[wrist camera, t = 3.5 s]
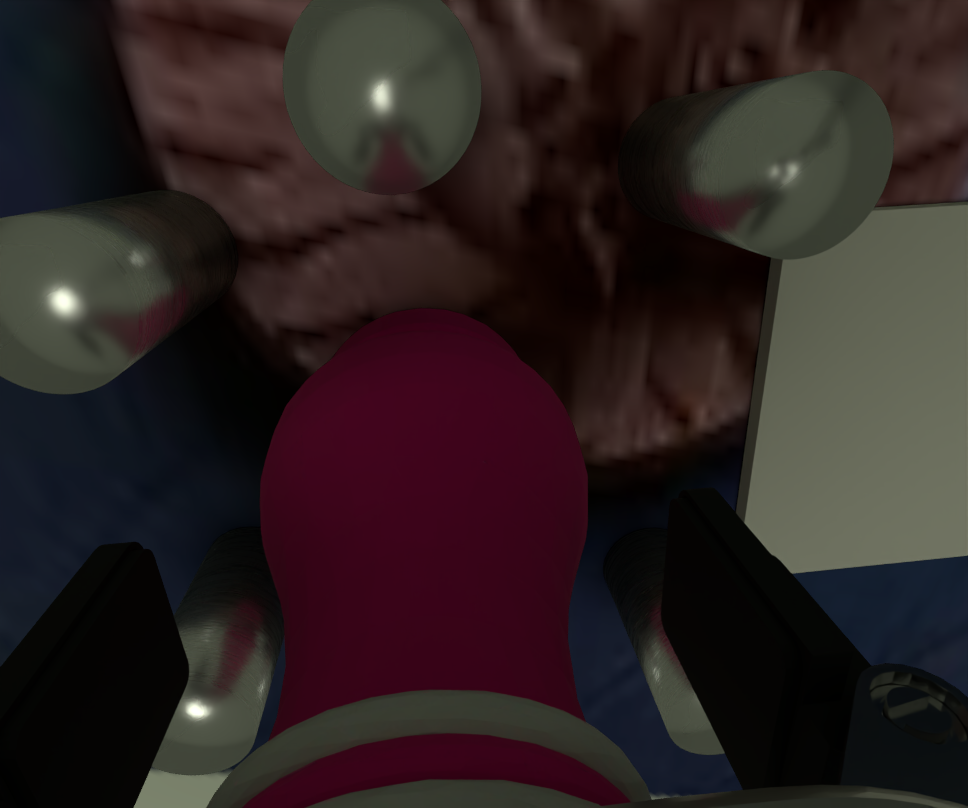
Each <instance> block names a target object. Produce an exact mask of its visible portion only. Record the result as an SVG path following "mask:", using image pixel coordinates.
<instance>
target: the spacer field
mask: <svg viewBox="0 0 968 808" xmlns="http://www.w3.org/2000/svg"><path fill="white" fill-rule="evenodd" d="M283 89H284V97H285V102H286V106H287V111H288V114H289V117H290V119H291V122H292V125H293V127H294V129H295V131H296V133H297V135H298V137H299V139H300V141H301V142H302V144H303V145H304V147H305V148H306V150H307V151H308V152H309V154H310V155H311V156H312V157H313V159H314V160H315V161H316V162H317V163H318V164H319V165H320V166H321V167H322V168H323V169H324V170H326V171H327V172H328V173H330V174H331V175H332V176H333V177H335V178H336V179H338V180H340V181H341V182H343V183H345V184H347V185H349V186H351V187H354V188H356V189H358V190H362V191H365V192H369V193H375V194H382V195H396V194H404V193H409V192H413V191H416V190H419V189H422V188H424V187H426V186H429V185H430V184H432V183H434V182H435V181H437V180H439V179H440V178H441V177H443V176H444V175H445V174H446V173H447V172H449V171H450V170H451V169H452V168H453V166H454V165H455V164H456V163H457V162H458V161H459V159H460V158H461V157H462V155H463V154H464V153H465V151H466V149H467V147H468V145H469V143H470V142H471V140H472V137H473V134H474V132H475V129H476V126H477V122H478V118H479V114H480V106H481V78H480V71H479V66H478V62H477V57H476V55H475V52H474V49H473V46H472V43H471V41H470V39H469V37H468V35H467V33H466V31H465V29H464V28H463V26H462V25H461V23H460V22H459V20H458V19H457V17H456V16H455V15H454V14H453V13H452V11H451V10H450V9H449V8H448V7H447V6H446V5H445V4H444V3H443V2H442V1H441V0H312V1H311V2H310V3H309V5H308V6H307V7H306V8H305V10H304V11H303V12H302V13H301V15H300V17H299V18H298V20H297V22H296V24H295V25H294V28H293V30H292V32H291V35H290V37H289V40H288V44H287V47H286V51H285V57H284V64H283ZM893 148H894V139H893V129H892V125H891V120H890V117H889V114H888V112H887V109H886V107H885V105H884V103H883V102H882V100H881V98H880V97H879V96H878V94H877V93H876V92H875V91H874V90H873V89H872V88H871V87H870V86H869V85H868V84H867V83H865V82H864V81H862V80H860V79H859V78H857V77H855V76H853V75H850V74H847V73H844V72H839V71H828V70H822V71H814V72H807V73H802V74H796V75H791V76H785V77H780V78H775V79H769V80H764V81H758V82H753V83H747V84H742V85H736V86H731V87H725V88H720V89H715V90H709V91H704V92H698V93H693V94H687V95H682V96H676V97H671V98H667V99H664V100H661V101H659V102H657V103H655V104H653V105H652V106H650V107H649V108H647V109H646V110H645V111H643V112H642V113H641V114H640V115H639V116H638V117H637V118H636V120H635V121H634V122H633V123H632V125H631V126H630V128H629V129H628V131H627V133H626V135H625V137H624V139H623V142H622V145H621V148H620V153H619V160H618V174H619V180H620V184H621V187H622V190H623V192H624V194H625V196H626V198H627V199H628V201H629V202H630V203H631V204H632V206H633V207H635V208H636V209H637V210H638V211H639V212H641V213H642V214H644V215H646V216H648V217H650V218H653V219H656V220H659V221H662V222H665V223H668V224H671V225H674V226H677V227H680V228H683V229H686V230H689V231H692V232H695V233H698V234H701V235H705V236H708V237H711V238H714V239H717V240H720V241H723V242H726V243H729V244H732V245H735V246H738V247H741V248H744V249H747V250H750V251H753V252H756V253H759V254H762V255H765V256H768V257H772V258H776V259H783V260H794V259H802V258H807V257H810V256H814V255H817V254H819V253H822V252H824V251H827V250H828V249H830V248H832V247H834V246H836V245H837V244H839V243H840V242H842V241H843V240H845V239H846V238H847V237H848V236H849V235H851V234H852V233H853V232H854V231H855V230H856V229H857V228H858V227H859V226H860V225H861V224H862V223H863V222H864V221H865V219H866V218H867V217H868V215H869V214H870V213H871V212H872V210H873V208H874V207H875V205H876V204H877V202H878V200H879V198H880V196H881V194H882V192H883V190H884V188H885V185H886V183H887V180H888V177H889V173H890V169H891V166H892V159H893ZM237 264H238V255H237V248H236V244H235V241H234V238H233V236H232V233H231V231H230V230H229V228H228V226H227V224H226V223H225V222H224V220H223V219H222V218H221V217H220V215H219V214H218V213H217V212H216V211H215V210H214V209H212V208H211V207H210V206H209V205H208V204H206V203H205V202H203V201H202V200H200V199H198V198H196V197H194V196H192V195H189V194H187V193H183V192H179V191H173V190H158V191H151V192H145V193H140V194H134V195H128V196H123V197H117V198H112V199H106V200H100V201H95V202H89V203H84V204H78V205H72V206H67V207H61V208H56V209H50V210H44V211H39V212H33V213H28V214H22V215H16V216H11V217H5V218H0V376H1V377H3V378H5V379H7V380H9V381H11V382H13V383H15V384H18V385H20V386H22V387H25V388H29V389H32V390H35V391H40V392H45V393H53V394H74V393H82V392H86V391H90V390H93V389H96V388H98V387H100V386H103V385H104V384H106V383H108V382H109V381H111V380H113V379H114V378H115V377H116V376H118V375H119V374H120V373H122V372H123V371H124V370H126V369H127V368H128V367H130V366H131V365H132V364H134V363H135V362H136V361H138V360H139V359H140V358H141V357H143V356H144V355H145V354H147V353H148V352H149V351H151V350H152V349H153V348H155V347H156V346H157V345H159V344H160V343H161V342H163V341H164V340H165V339H167V338H168V337H169V336H170V335H172V334H173V333H174V332H176V331H177V330H178V329H180V328H181V327H182V326H184V325H185V324H186V323H188V322H189V321H190V320H192V319H193V318H194V317H196V316H197V315H198V314H199V313H201V312H202V311H203V310H205V309H206V308H207V307H209V306H210V305H211V304H213V303H214V302H215V301H217V300H218V299H219V298H220V297H222V296H223V295H224V294H225V293H226V291H227V290H228V289H229V287H230V286H231V284H232V282H233V280H234V278H235V275H236V271H237ZM666 543H667V530H663V529H656V528H650V529H642V530H639V531H635V532H633V533H631V534H629V535H627V536H625V537H623V538H622V539H620V540H619V541H618V542H617V543H616V544H615V545H614V546H613V547H612V548H611V550H610V551H609V553H608V554H607V556H606V559H605V562H604V567H603V574H604V578H605V581H606V583H607V586H608V588H609V590H610V593H611V595H612V598H613V600H614V602H615V605H616V607H617V610H618V612H619V615H620V617H621V619H622V622H623V624H624V627H625V629H626V631H627V634H628V636H629V639H630V641H631V644H632V646H633V648H634V651H635V653H636V656H637V658H638V661H639V663H640V665H641V668H642V670H643V673H644V675H645V677H646V680H647V682H648V685H649V687H650V690H651V692H652V694H653V697H654V699H655V702H656V704H657V706H658V709H659V711H660V714H661V716H662V719H663V721H664V723H665V726H666V728H667V731H668V733H669V735H670V737H671V739H672V740H673V741H674V742H675V744H677V745H678V746H679V747H681V748H682V749H684V750H686V751H689V752H692V753H696V754H703V755H714V754H722V753H725V752H724V750H723V748H722V746H721V744H720V742H719V740H718V738H717V736H716V734H715V732H714V730H713V728H712V726H711V724H710V722H709V720H708V718H707V716H706V714H705V712H704V710H703V708H702V706H701V704H700V702H699V700H698V698H697V696H696V694H695V692H694V690H693V688H692V686H691V684H690V682H689V680H688V678H687V676H686V674H685V672H684V670H683V668H682V666H681V664H680V662H679V660H678V658H677V656H676V654H675V652H674V650H673V648H672V646H671V644H670V642H669V640H668V638H667V636H666V634H665V631H664V629H663V625H662V621H661V602H662V591H663V579H664V567H665V555H666ZM174 619H175V622H176V625H177V628H178V631H179V634H180V637H181V641H182V644H183V647H184V650H185V653H186V656H187V659H188V663H189V679H188V683H187V686H186V688H185V691H184V693H183V695H182V698H181V700H180V702H179V704H178V707H177V709H176V711H175V714H174V716H173V718H172V720H171V723H170V725H169V727H168V730H167V732H166V734H165V737H164V739H163V741H162V743H161V746H160V748H159V750H158V753H157V755H156V757H155V759H154V762H153V764H152V767H154V768H156V769H159V770H162V771H165V772H169V773H174V774H181V775H204V774H210V773H215V772H219V771H222V770H224V769H227V768H229V767H231V766H233V765H235V764H236V763H238V762H239V761H241V760H242V759H243V758H244V757H245V756H246V755H247V754H248V753H249V751H250V750H251V748H252V746H253V744H254V741H255V737H256V734H257V730H258V727H259V723H260V720H261V716H262V713H263V709H264V706H265V702H266V699H267V695H268V692H269V688H270V685H271V681H272V678H273V674H274V670H275V667H276V663H277V660H278V656H279V653H280V649H281V646H282V642H283V639H284V635H285V634H284V618H283V613H282V608H281V603H280V600H279V597H278V593H277V590H276V587H275V584H274V581H273V578H272V575H271V572H270V568H269V565H268V562H267V559H266V555H265V551H264V547H263V542H262V534H261V528H255V527H246V528H239V529H235V530H232V531H229V532H227V533H225V534H223V535H222V536H220V537H219V538H218V539H217V540H216V541H214V543H213V544H212V545H211V547H210V549H209V550H208V552H207V554H206V556H205V558H204V560H203V562H202V564H201V566H200V567H199V569H198V571H197V573H196V575H195V577H194V579H193V581H192V583H191V584H190V586H189V588H188V590H187V592H186V594H185V596H184V598H183V600H182V601H181V603H180V605H179V607H178V609H177V611H176V613H175V615H174Z"/></svg>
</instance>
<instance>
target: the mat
mask: <svg viewBox="0 0 968 808" xmlns="http://www.w3.org/2000/svg"><path fill="white" fill-rule="evenodd" d="M736 514H737V515H738V516H739V517H740V518H741V520H742V521H743V522H744V523H745V524H746V525H747V527H748V528H749V529H750V530H751V531H752V532H753V534H754V535H755V536H756V537H757V538H758V539H759V541H760V542H761V543H762V544H763V545H764V546H765V548H766V549H767V550H768V551H769V552H770V553H771V555H774V556H776V557H777V558H778V559H779V560H780V561H781V562H782V563H783V564H784V565H785V566H786V568H787V569H788V570H789V571H790V572H791V573H801V572H810V571H820V570H830V569H840V568H850V567H859V566H869V565H879V564H889V563H899V562H908V561H918V560H928V559H938V558H948V557H957V556H967V555H968V202H954V203H938V204H922V205H907V206H891V207H875V208H873V210H872V212H871V213H870V214H869V215H868V217H867V218H866V219H865V221H864V222H863V223H862V224H861V225H860V226H859V227H858V228H857V229H856V230H855V231H854V232H853V233H852V234H851V235H849V236H848V237H847V238H846V239H845V240H843V241H842V242H840V243H839V244H837V245H836V246H834V247H832V248H830V249H828V250H827V251H824V252H822V253H819V254H817V255H814V256H810V257H807V258H802V259H794V260H783V259H776V258H772V257H771V262H770V270H769V277H768V284H767V291H766V299H765V306H764V313H763V320H762V327H761V335H760V342H759V349H758V356H757V364H756V371H755V378H754V385H753V392H752V400H751V407H750V414H749V421H748V429H747V436H746V443H745V450H744V457H743V465H742V472H741V479H740V486H739V494H738V501H737V508H736Z"/></svg>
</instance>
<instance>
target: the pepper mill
mask: <svg viewBox="0 0 968 808" xmlns="http://www.w3.org/2000/svg"><path fill="white" fill-rule="evenodd" d="M260 518H261V534H262V542H263V547H264V551H265V555H266V559H267V562H268V565H269V568H270V572H271V575H272V578H273V581H274V584H275V587H276V590H277V593H278V597H279V600H280V603H281V608H282V613H283V618H284V634H285V656H286V669H285V674H284V680H283V686H282V692H281V698H280V703H279V709H278V715H277V719H276V721H275V724H274V727H273V730H272V733H271V735H270V738H269V741H268V742H267V743H265V744H264V745H262V746H261V747H259V748H258V749H256V750H255V751H254V752H253V753H252V754H251V755H249V756H248V757H247V758H246V759H245V760H244V761H243V762H242V763H240V764H239V765H238V766H237V767H236V768H235V769H234V770H233V771H232V772H231V773H230V774H229V776H228V777H227V778H226V779H225V781H224V782H223V783H222V785H221V786H220V787H219V789H218V790H217V791H216V792H215V794H214V795H213V797H212V799H211V801H210V802H209V804H208V806H207V808H590V807H598V806H606V805H614V804H622V803H630V802H639V801H647V800H651V797H650V794H649V791H648V788H647V785H646V784H645V782H644V781H643V779H642V778H641V776H640V775H639V774H638V772H637V771H636V769H635V768H634V767H633V765H632V764H631V762H630V761H629V760H628V758H627V757H626V755H625V754H624V753H623V751H622V750H621V749H620V748H619V747H618V746H617V745H615V744H614V743H613V742H612V741H611V740H609V739H608V738H607V737H606V736H605V735H603V734H602V733H601V732H600V731H599V730H597V729H596V728H594V727H593V726H591V725H589V724H588V723H586V721H585V718H584V716H583V713H582V710H581V708H580V705H579V702H578V700H577V694H576V688H575V682H574V675H573V669H572V663H571V657H570V651H569V645H568V613H569V605H570V600H571V594H572V589H573V584H574V580H575V577H576V573H577V569H578V566H579V562H580V558H581V555H582V551H583V547H584V544H585V540H586V533H587V525H588V475H587V471H586V467H585V463H584V460H583V456H582V452H581V448H580V445H579V442H578V438H577V435H576V432H575V429H574V426H573V424H572V422H571V419H570V417H569V415H568V413H567V411H566V409H565V406H564V405H563V403H562V402H561V401H560V399H559V398H558V396H557V395H556V393H555V392H554V391H553V389H552V388H551V386H550V385H549V384H548V383H547V382H546V381H545V380H544V379H543V378H542V377H541V376H540V375H539V374H538V373H537V372H536V371H535V370H534V369H532V368H531V367H530V366H528V365H527V364H525V363H524V362H523V361H521V360H520V359H519V357H518V356H517V354H516V352H515V351H514V350H513V349H512V348H511V347H510V345H509V344H508V343H507V342H506V341H505V340H504V339H503V338H502V337H501V336H500V335H499V334H497V333H496V332H495V331H493V330H492V329H491V328H489V327H488V326H487V325H485V324H483V323H481V322H479V321H477V320H475V319H473V318H470V317H468V316H466V315H464V314H460V313H456V312H452V311H449V310H445V309H429V308H418V309H411V310H404V311H397V312H394V313H391V314H388V315H386V316H383V317H380V318H378V319H376V320H374V321H372V322H370V323H369V324H367V325H365V326H363V327H361V328H360V329H359V330H358V331H357V332H356V333H354V334H353V335H352V336H351V337H350V338H349V339H348V340H347V341H346V342H345V343H344V344H343V345H342V346H341V347H340V348H339V349H338V351H337V352H336V353H335V355H334V356H333V358H332V359H331V360H330V361H329V362H327V363H326V364H325V365H323V366H322V367H321V368H319V369H318V370H317V371H316V372H315V373H314V374H313V375H312V376H310V377H309V378H308V379H307V380H306V381H305V382H304V384H303V385H302V386H301V387H300V389H299V390H298V391H297V392H296V394H295V395H294V396H293V397H292V399H291V400H290V401H289V402H288V404H287V405H286V407H285V409H284V411H283V414H282V416H281V418H280V420H279V422H278V424H277V427H276V429H275V431H274V434H273V437H272V440H271V443H270V447H269V450H268V453H267V456H266V460H265V464H264V468H263V473H262V477H261V489H260Z"/></svg>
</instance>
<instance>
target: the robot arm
mask: <svg viewBox="0 0 968 808" xmlns="http://www.w3.org/2000/svg"><path fill="white" fill-rule="evenodd" d="M661 621H662V625H663V629H664V631H665V634H666V636H667V638H668V640H669V642H670V644H671V646H672V648H673V650H674V652H675V654H676V656H677V658H678V660H679V662H680V664H681V666H682V668H683V670H684V672H685V674H686V676H687V678H688V680H689V682H690V684H691V686H692V688H693V690H694V692H695V694H696V696H697V698H698V700H699V702H700V704H701V706H702V708H703V710H704V712H705V714H706V716H707V718H708V720H709V722H710V724H711V726H712V728H713V730H714V732H715V734H716V736H717V738H718V740H719V742H720V744H721V746H722V748H723V750H724V752H725V754H726V756H727V758H728V760H729V762H730V764H731V766H732V768H733V770H734V772H735V774H736V776H737V778H738V780H739V782H740V784H741V786H742V788H743V790H740V791H730V792H720V793H711V794H701V795H692V796H682V797H672V798H663V799H655V800H647V801H639V802H630V803H622V804H614V805H606V806H598V807H590V808H968V697H967V696H966V695H965V694H963V693H962V692H961V691H960V690H959V689H958V688H956V687H955V686H953V685H951V684H950V683H948V682H947V681H945V680H944V679H942V678H940V677H938V676H936V675H934V674H931V673H929V672H927V671H925V670H922V669H919V668H915V667H912V666H908V665H904V664H893V663H883V664H878V665H873V666H871V665H870V664H869V663H868V662H867V660H866V659H865V658H864V657H863V656H862V655H861V653H860V652H859V651H858V650H857V649H856V648H855V646H854V645H853V644H852V643H851V642H850V641H849V639H848V638H847V637H846V636H845V635H844V634H843V633H842V631H841V630H840V629H839V628H838V627H837V626H836V624H835V623H834V622H833V621H832V620H831V619H830V617H829V616H828V615H827V614H826V613H825V612H824V610H823V609H822V608H821V607H820V606H819V605H818V604H817V602H816V601H815V600H814V599H813V598H812V597H811V595H810V594H809V593H808V592H807V591H806V590H805V588H804V587H803V586H802V585H801V584H800V583H799V582H798V580H797V579H796V578H795V577H794V576H793V575H792V573H791V572H790V571H789V570H788V569H787V568H786V566H785V565H784V564H783V563H782V562H781V561H780V560H779V559H778V558H777V557H776V556H774V555H771V553H770V552H769V551H768V550H767V549H766V548H765V546H764V545H763V544H762V543H761V542H760V541H759V539H758V538H757V537H756V536H755V535H754V534H753V532H752V531H751V530H750V529H749V528H748V527H747V525H746V524H745V523H744V522H743V521H742V520H741V518H740V517H739V516H738V515H737V514H736V512H735V511H734V510H733V509H732V508H731V507H730V505H729V504H728V503H727V502H726V501H725V500H724V498H723V497H722V496H721V495H720V494H719V493H718V491H717V490H715V489H714V488H701V489H691V490H683V491H681V492H680V494H679V498H678V499H673V500H671V502H670V508H669V520H668V531H667V543H666V555H665V567H664V579H663V591H662V602H661ZM188 679H189V663H188V659H187V656H186V653H185V650H184V647H183V644H182V641H181V637H180V634H179V631H178V628H177V625H176V622H175V619H174V616H173V613H172V610H171V607H170V604H169V600H168V597H167V594H166V591H165V588H164V585H163V582H162V579H161V576H160V573H159V570H158V566H157V563H156V560H155V557H154V555H153V553H152V551H151V550H149V549H143V547H142V546H141V545H140V544H139V543H137V542H128V543H117V544H107V545H101V546H99V547H98V548H97V549H96V550H95V551H94V552H93V553H92V554H91V556H90V557H89V558H88V559H87V561H86V562H85V563H84V564H83V566H82V567H81V568H80V569H79V571H78V572H77V573H76V574H75V575H74V577H73V578H72V579H71V580H70V582H69V583H68V584H67V585H66V587H65V588H64V589H63V590H62V592H61V593H60V594H59V595H58V596H57V598H56V599H55V600H54V601H53V603H52V604H51V605H50V606H49V608H48V609H47V610H46V611H45V613H44V614H43V615H42V616H41V618H40V619H39V620H38V621H37V622H36V624H35V625H34V626H33V627H32V629H31V630H30V631H29V632H28V634H27V635H26V636H25V637H24V639H23V640H22V641H21V642H20V644H19V645H18V646H17V647H16V648H15V650H14V651H13V652H12V653H11V655H10V656H9V657H8V658H7V660H6V661H5V662H4V663H3V665H2V666H1V667H0V808H133V807H134V805H135V803H136V801H137V798H138V796H139V794H140V792H141V789H142V787H143V785H144V782H145V780H146V778H147V776H148V773H149V771H150V769H151V766H152V764H153V762H154V759H155V757H156V755H157V753H158V750H159V748H160V746H161V743H162V741H163V739H164V737H165V734H166V732H167V730H168V727H169V725H170V723H171V720H172V718H173V716H174V714H175V711H176V709H177V707H178V704H179V702H180V700H181V698H182V695H183V693H184V691H185V688H186V686H187V683H188Z"/></svg>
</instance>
